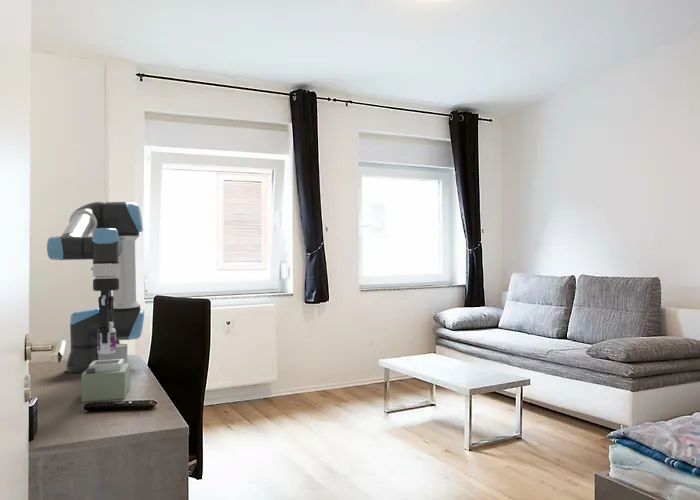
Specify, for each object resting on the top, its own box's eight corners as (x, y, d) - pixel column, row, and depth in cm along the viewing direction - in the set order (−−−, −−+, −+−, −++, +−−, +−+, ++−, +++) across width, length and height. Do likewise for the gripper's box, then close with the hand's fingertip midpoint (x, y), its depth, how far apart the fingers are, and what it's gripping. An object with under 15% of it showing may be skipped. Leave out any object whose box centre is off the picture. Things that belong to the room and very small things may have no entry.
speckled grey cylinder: (117, 384, 196) (117, 347, 196) (92, 383, 198) (91, 347, 198) (133, 378, 205) (133, 343, 206) (109, 378, 207) (108, 343, 207)
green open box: (91, 390, 188) (90, 359, 188) (130, 387, 191) (130, 356, 191) (81, 401, 172) (81, 367, 172) (124, 398, 175) (124, 365, 175)
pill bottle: (99, 355, 178) (98, 323, 178) (96, 353, 182) (95, 322, 183) (117, 353, 181) (117, 322, 181) (114, 351, 185) (114, 320, 186)
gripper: (97, 277, 190) (98, 348, 190) (87, 278, 172) (88, 357, 172) (122, 276, 192) (123, 347, 192) (114, 278, 174) (115, 356, 174)
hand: (106, 352), depth 182 cm, fingers closed on pill bottle, 5 cm apart
